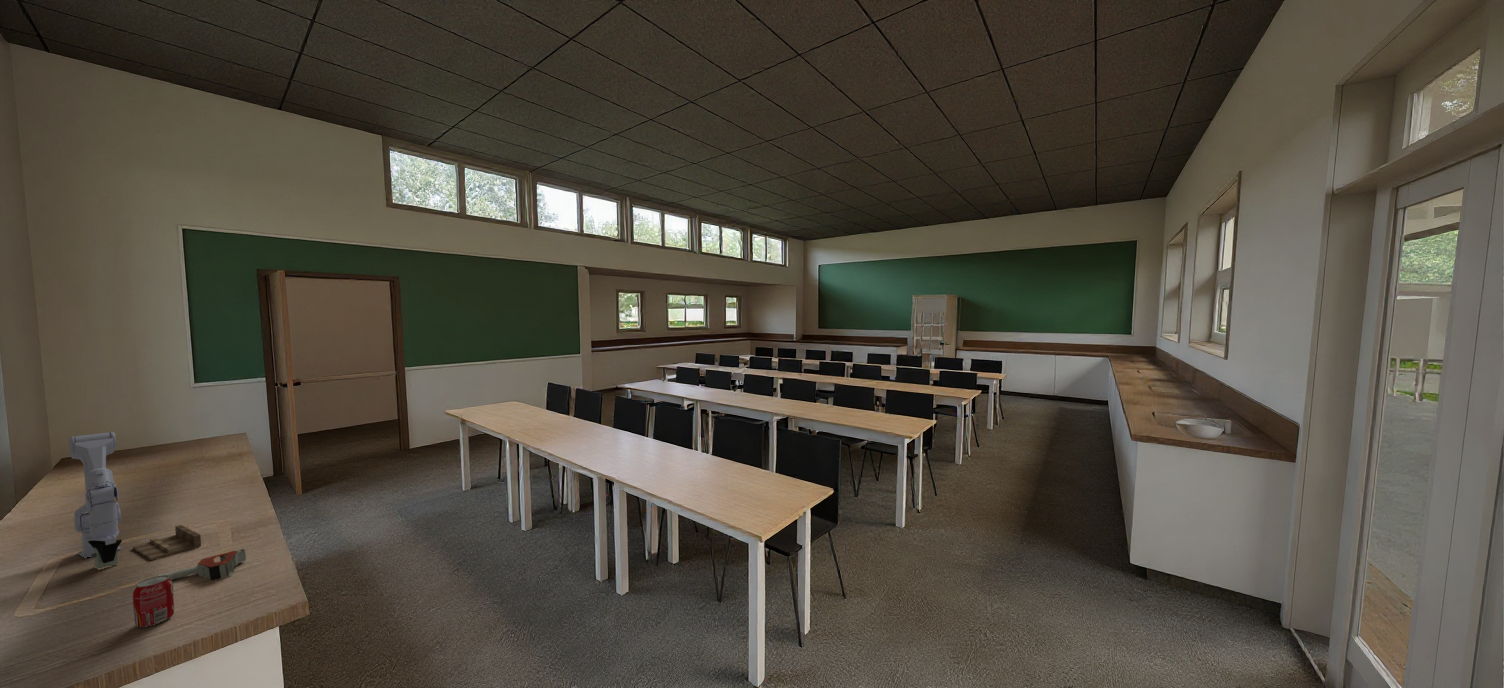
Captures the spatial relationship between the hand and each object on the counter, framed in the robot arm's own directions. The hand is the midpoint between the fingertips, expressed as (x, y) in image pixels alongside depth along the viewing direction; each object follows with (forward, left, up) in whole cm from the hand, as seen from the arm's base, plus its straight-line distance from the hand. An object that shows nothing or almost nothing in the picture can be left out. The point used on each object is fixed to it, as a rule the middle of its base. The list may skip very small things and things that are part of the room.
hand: (106, 560), depth 163 cm
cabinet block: (0, 0, -2) cm, 2 cm away
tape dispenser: (+39, +14, -3) cm, 41 cm away
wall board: (-2, +14, -2) cm, 14 cm away
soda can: (+63, -3, -2) cm, 63 cm away
